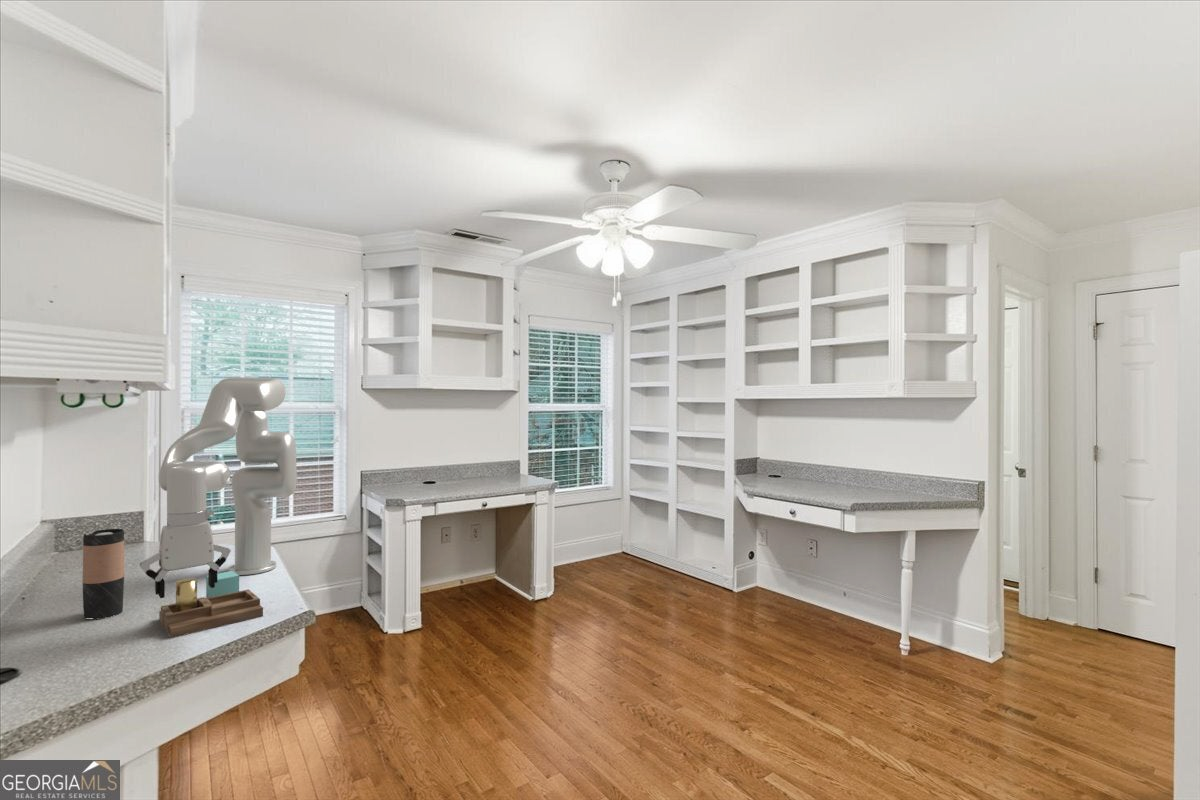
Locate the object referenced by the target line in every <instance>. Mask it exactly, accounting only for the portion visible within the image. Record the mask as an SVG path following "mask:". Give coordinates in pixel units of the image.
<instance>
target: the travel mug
mask: <svg viewBox="0 0 1200 800" xmlns="http://www.w3.org/2000/svg"><path fill="white" fill-rule="evenodd" d="M82 538H83V539H82V541H83V542H82V543H83V544H82V546H83V547H82V603H83V604H82V605H83V606H82V608H83V618H84V617H85V618H93V619H96V620H98V619H97V618H103V619H106V618H105V617H108V618H111V616H112V617H114V616H113V615H115V616H117V615H119V613H120V614H121V613H122V612H123V610H124V609H123V608H124V591H125V530H124V529H122V528H108V529H107V528H106V529H98V530H95V531H93V532H92V533H90V534H86V533H84V534H83V537H82Z"/></svg>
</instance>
